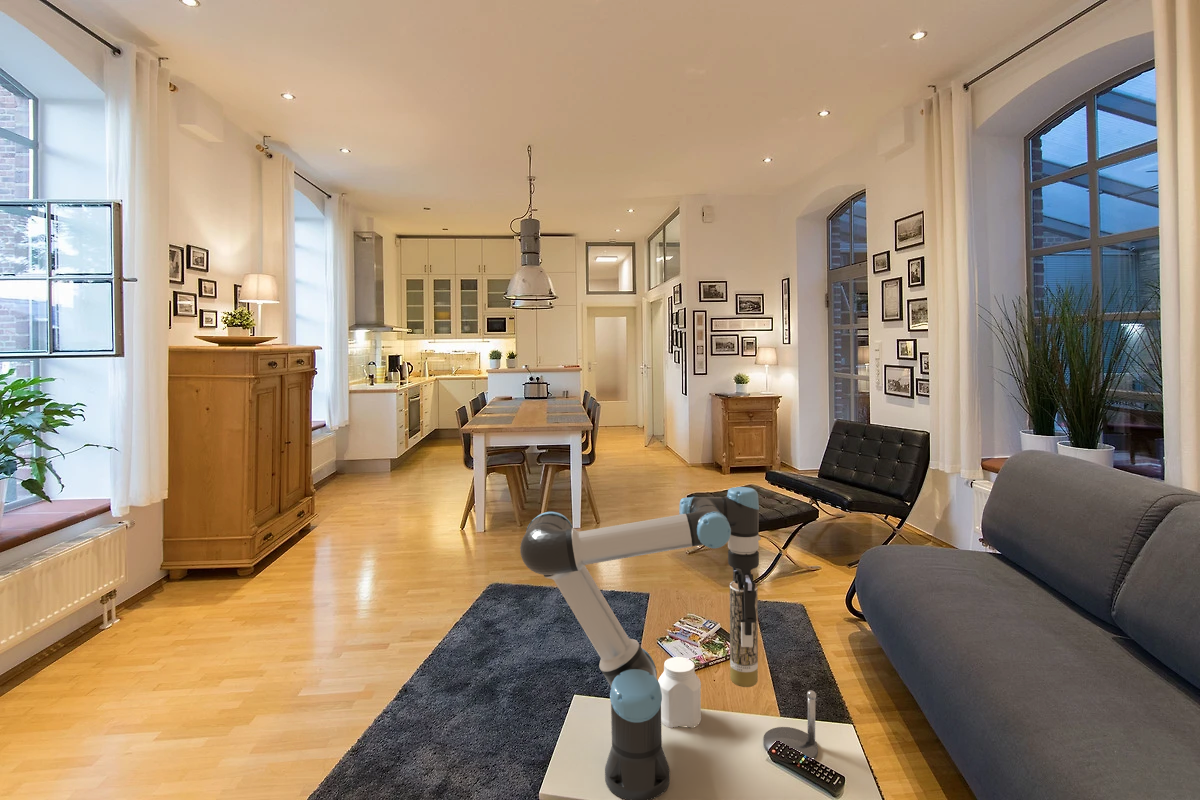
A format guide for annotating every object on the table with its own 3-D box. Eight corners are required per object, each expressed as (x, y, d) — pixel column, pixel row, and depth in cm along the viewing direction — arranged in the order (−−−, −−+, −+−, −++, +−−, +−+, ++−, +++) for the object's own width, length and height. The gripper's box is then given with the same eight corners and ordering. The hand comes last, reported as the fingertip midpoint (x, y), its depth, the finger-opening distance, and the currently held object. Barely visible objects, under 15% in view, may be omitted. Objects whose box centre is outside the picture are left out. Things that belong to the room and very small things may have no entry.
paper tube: (758, 689, 150) (758, 590, 148) (730, 687, 151) (729, 589, 150) (757, 675, 157) (756, 580, 155) (730, 673, 158) (729, 579, 156)
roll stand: (771, 764, 146) (771, 706, 145) (757, 731, 159) (757, 678, 158) (825, 763, 146) (825, 705, 145) (807, 730, 159) (807, 677, 158)
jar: (659, 727, 162) (658, 673, 161) (657, 707, 171) (657, 655, 170) (703, 728, 161) (702, 673, 160) (699, 707, 171) (698, 655, 170)
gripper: (769, 562, 142) (769, 658, 144) (748, 538, 162) (749, 622, 163) (737, 563, 142) (737, 658, 144) (720, 538, 162) (721, 622, 163)
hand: (743, 639), depth 153 cm, fingers closed on paper tube, 7 cm apart
